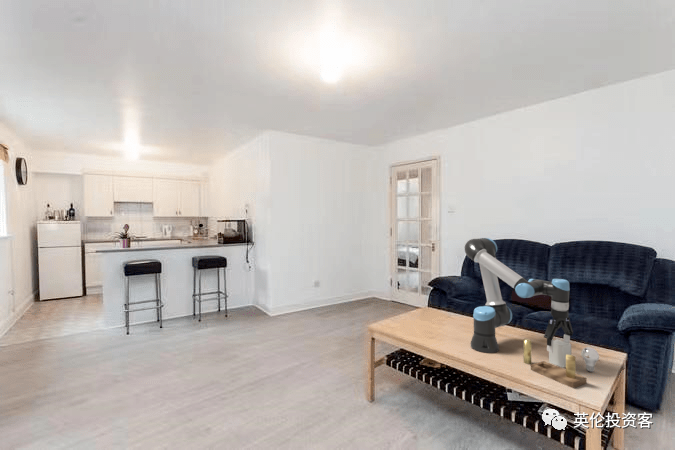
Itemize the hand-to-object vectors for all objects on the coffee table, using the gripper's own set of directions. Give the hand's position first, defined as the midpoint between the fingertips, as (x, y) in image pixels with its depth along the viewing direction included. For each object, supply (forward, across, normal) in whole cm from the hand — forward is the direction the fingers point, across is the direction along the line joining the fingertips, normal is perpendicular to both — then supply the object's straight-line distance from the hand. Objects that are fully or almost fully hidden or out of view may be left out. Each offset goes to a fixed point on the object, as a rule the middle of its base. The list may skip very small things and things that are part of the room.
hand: (558, 349), depth 171 cm
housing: (+7, 0, -1) cm, 7 cm away
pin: (+8, -14, +7) cm, 17 cm away
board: (+7, -15, -9) cm, 19 cm away
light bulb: (+7, +4, -13) cm, 15 cm away
